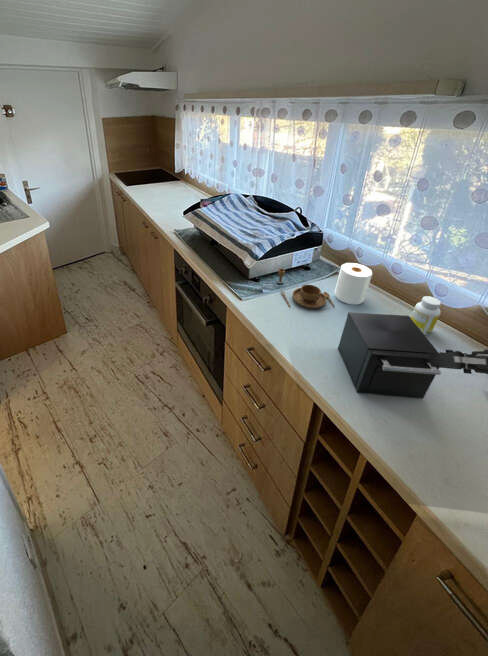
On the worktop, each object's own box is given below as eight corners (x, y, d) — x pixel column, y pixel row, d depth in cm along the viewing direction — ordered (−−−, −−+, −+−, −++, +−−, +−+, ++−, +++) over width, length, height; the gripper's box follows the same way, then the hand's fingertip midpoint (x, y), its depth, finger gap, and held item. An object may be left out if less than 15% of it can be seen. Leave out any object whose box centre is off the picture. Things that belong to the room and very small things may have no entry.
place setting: (290, 311, 109) (292, 297, 106) (274, 280, 127) (276, 268, 124) (338, 309, 110) (342, 296, 107) (315, 279, 127) (318, 267, 124)
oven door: (430, 409, 75) (452, 370, 68) (361, 403, 76) (376, 364, 70) (419, 393, 79) (439, 354, 72) (354, 387, 80) (368, 349, 74)
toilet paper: (353, 288, 121) (360, 261, 116) (369, 303, 112) (379, 275, 107) (329, 290, 120) (335, 263, 115) (343, 306, 111) (351, 277, 106)
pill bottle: (431, 327, 101) (444, 298, 95) (431, 338, 96) (445, 309, 91) (407, 320, 104) (419, 292, 99) (406, 330, 99) (419, 302, 94)
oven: (419, 392, 79) (439, 353, 72) (354, 387, 81) (368, 348, 74) (393, 352, 91) (408, 315, 85) (337, 348, 93) (348, 312, 86)
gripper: (595, 342, 41) (466, 345, 64) (486, 332, 43) (398, 338, 66) (610, 402, 39) (471, 383, 62) (496, 389, 41) (401, 375, 64)
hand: (434, 360), depth 64 cm, fingers closed
